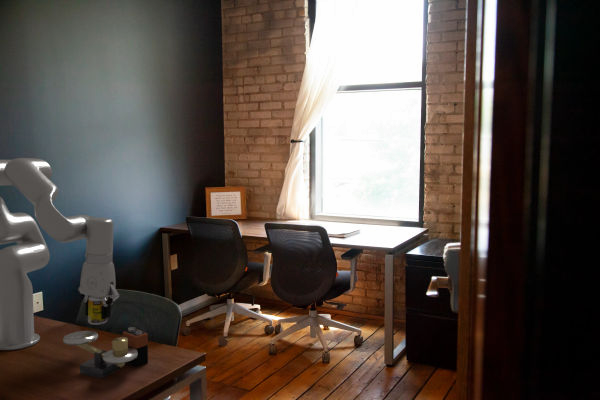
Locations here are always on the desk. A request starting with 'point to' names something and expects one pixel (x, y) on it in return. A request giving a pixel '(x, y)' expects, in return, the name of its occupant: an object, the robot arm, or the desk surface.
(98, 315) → the supplement bottle
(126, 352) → the brass weight
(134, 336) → the battery
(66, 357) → the desk surface
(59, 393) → the desk surface
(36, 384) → the desk surface
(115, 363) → the balance
